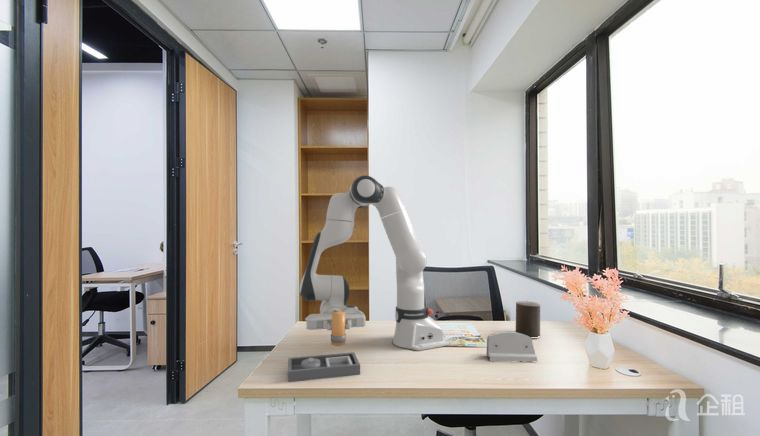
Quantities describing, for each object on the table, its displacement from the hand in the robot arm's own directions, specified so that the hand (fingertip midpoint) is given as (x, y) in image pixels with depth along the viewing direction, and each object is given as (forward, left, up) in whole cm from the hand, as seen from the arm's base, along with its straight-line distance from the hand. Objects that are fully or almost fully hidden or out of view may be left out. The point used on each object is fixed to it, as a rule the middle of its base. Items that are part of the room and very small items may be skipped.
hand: (338, 327), depth 112 cm
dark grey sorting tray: (+5, -1, -14) cm, 15 cm away
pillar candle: (-83, -16, -14) cm, 86 cm away
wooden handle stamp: (0, -1, -5) cm, 6 cm away
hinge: (-61, +4, -14) cm, 63 cm away
